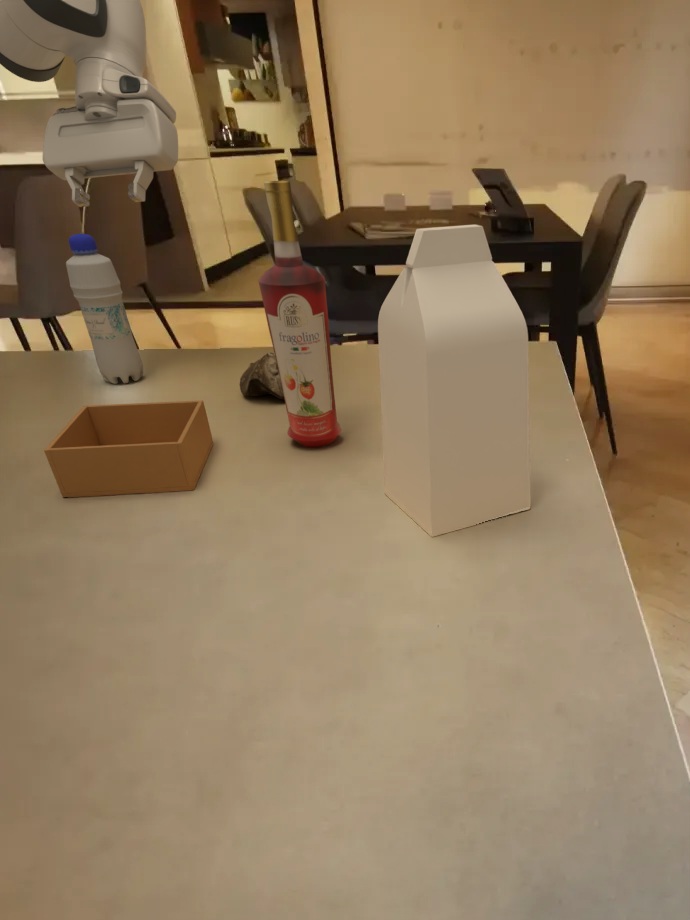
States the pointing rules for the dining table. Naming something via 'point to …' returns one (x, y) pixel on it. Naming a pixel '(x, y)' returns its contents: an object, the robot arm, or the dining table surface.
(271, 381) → the fossilized seashell
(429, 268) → the milk
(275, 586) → the dining table surface
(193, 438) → the shallow wooden crate
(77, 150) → the robot arm
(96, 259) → the bottle
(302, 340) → the liquor
